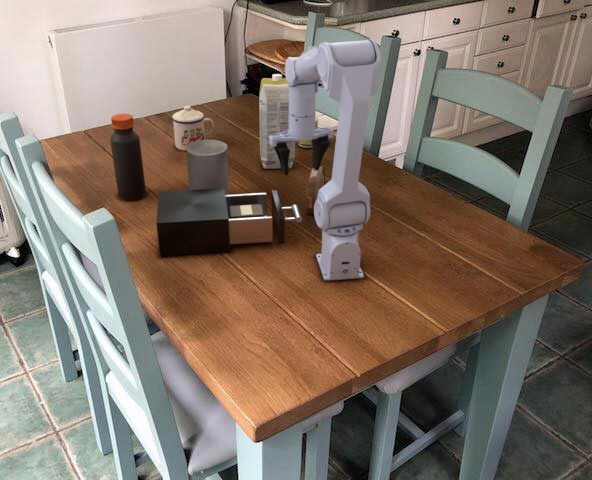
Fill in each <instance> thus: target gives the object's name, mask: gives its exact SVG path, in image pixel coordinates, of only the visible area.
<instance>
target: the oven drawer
mask: <svg viewBox="0 0 592 480" xmlns="http://www.w3.org/2000/svg"><path fill="white" fill-rule="evenodd" d="M267 202H268V201H267V192H253V193H235V194H229V195H226V203H227V211H228V218H229V239H230V245H242V244H243V245H244V244H259V243H273V241H274V240H273V227H274V230H275V234H276V237H277V241H278V244H279V245H285V244H286V243H285V242H286V241H285V240H286V239H285V237H286V234H285V233H286V230H285V229H286V222H295V223H297V224H300V223H301V222H302V221H303V218H302V216H301V213H300V210H299V206H298V204H295V203H294V204H292V205H291V206H283V207H282V204H281V200H280V196H279V194H278V190H277V189H272V190H271V216H268V215H267V213H268V211H267V208H268V206H267ZM256 204H261V206H262V210H263V215H264V217H252V218H235V219H230V208H229V206H238V205H256ZM285 211H287V212H289V211H291V212H292V216H293V217H285V214H284V212H285Z"/></svg>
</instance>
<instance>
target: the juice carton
mask: <svg viewBox="0 0 592 480" xmlns="http://www.w3.org/2000/svg"><path fill="white" fill-rule="evenodd" d="M271 75H272V76H271V78H270V77H269V78H268V77H267V78H266V77H263V78H261V80H260V86H259V92H258V95H259V97H258V100H259V101H258V103H259V153H260V159H261V164H262V167H263V169H264V170H271V169H273V170H274V169H276V170H277V169H281V165H280V161H279V158H278V155H277V153H276V151H275V149H274V147H272V146H271V145H270V144H269V136H270V135H275V134H278V133H281V132H285V131H288V130H289V85H288V83H287V81H286V77H283V74H280V73H273V74H271ZM286 145H287V146H288V149H289V150H290V154H289V161H288V169H292V168H293V164H294V160H295V155H296V142H294V143H287V144H286Z"/></svg>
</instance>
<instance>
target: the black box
mask: <svg viewBox="0 0 592 480" xmlns="http://www.w3.org/2000/svg"><path fill="white" fill-rule="evenodd" d="M156 230H157V231H156V232H157V240H158V248H159V257H160V258H166V257H181V256H182V257H183V256H195V255H197V256H198V255H211V254H227V253H228V254H229V253H231V244H230V239H229V218H228V211H227V203H226V195H225V188H216V189H198V190H189V189H183V190H181V189H179V190H168V191H167V190H164V191H158V194H157V211H156Z"/></svg>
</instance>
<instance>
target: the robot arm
mask: <svg viewBox="0 0 592 480" xmlns="http://www.w3.org/2000/svg"><path fill="white" fill-rule="evenodd" d="M382 62H383V61H382V55H381V50H380V47H379V45H378V43H377V42H376V40H374V39H373V38H368V39H365V40H363V39H362V40H349V41H338V42H326V41H325V42H321V43H319V44H318V46H317V45H314V46H309V47H308V48H307V51H302V52H301V55H299V56H296V57H292V56H288V57H287V58H286V60H285V63H284V75H285V78H286V81H287V83H288V85H289V130H288V131H285V132H281V133H278V134H275V135H270V136H269V144H270V145H271V146H272V147H274V149H275V151H276V153H277V155H278V158H279V161H280V165H281V168H280V170H281V173H282V174H283V176H289V168H288V161H289V154H290V150H289V149H288V146H287V145H286V144H287V143H294V142H295V143H298V142H300V141H308V140H312V146H313V147H312V167H313V168H314V169H315V170H319V168H320V166H321V164H322V161H323V158H324V157H325V154H326V152H327V150H328V149H329V148H330V146H331V141H330V140H329V139H333V138H334V137H333V135H334V129H332V128H331V127H330V126H325V127H318V128H315V116H316V98H317V97H316V95H317V93H318V92H319V84H320V82H322V84H323V87H324V90H325V92H326V94H327V97H329V98H331V99H333V100H335V101H337V102H338V103H339V110H338V119H337V128H336V137H335V144H334V154H333V163H332V170H331V171H332V172H331V179H330V180H329V181H328V182H327V183H325V185H324V186H323V187H322V188H321V189H319V192H318V196H317V200H316V202H315V205H314V213H313V215H314V216H313V217H314V221H315V224H316V225H317V227H318V228H319V229H320V230H321V253H317V254H316V255H315V257H316V260H317V263H318V266H319V270H320V272H321V275H322V278H323V280H324V281H339V280H354V279H363V278H364V277H365V275H364V273H363V270H362V268H361V257H362V256H361V255H362V251H361V247H360V244H359V235H360V231H363V228H364V225H366V224H367V223H368V222H369V220H370V217H371V195H370V192H369V191H368V189H367V187H366V185H364V184H362V182H360V181H359V178H360V173H361V165H362V157H363V152H364V145H365V138H366V131H367V124H368V116H369V112H370V111H369V110H370V103H371V97H373V96H374V95H375V94H376V93H378V87H379V83H380V77H381V72H382V71H381V69H382V65H383V64H382Z"/></svg>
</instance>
